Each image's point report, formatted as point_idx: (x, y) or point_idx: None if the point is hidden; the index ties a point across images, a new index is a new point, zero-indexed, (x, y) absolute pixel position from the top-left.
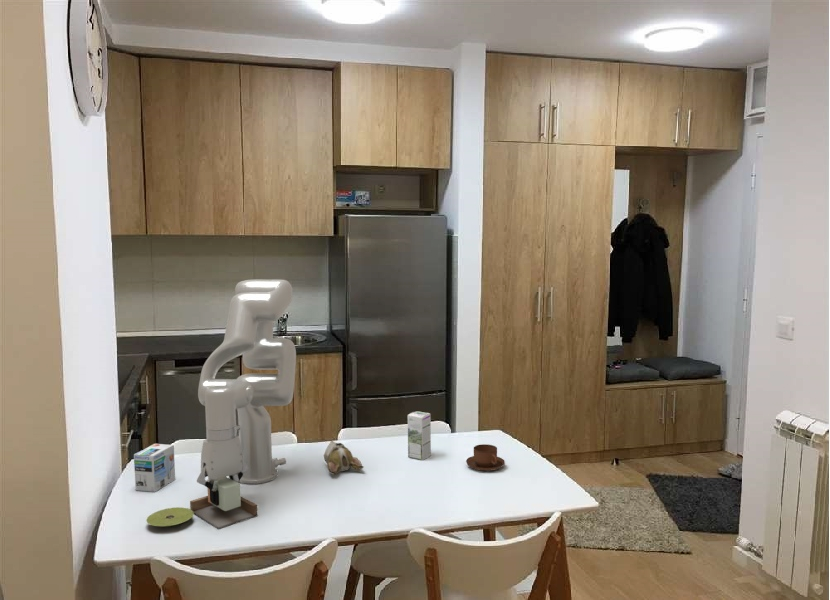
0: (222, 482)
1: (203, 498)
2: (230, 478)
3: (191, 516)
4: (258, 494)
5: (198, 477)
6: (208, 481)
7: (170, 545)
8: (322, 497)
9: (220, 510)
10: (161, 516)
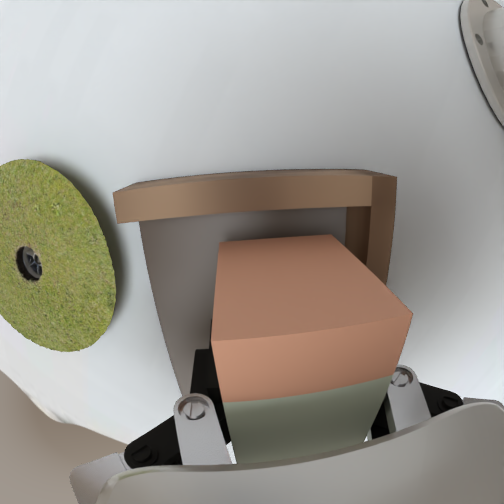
0: (290, 448)
1: (200, 209)
2: (385, 406)
3: (101, 327)
4: (463, 215)
5: (79, 501)
6: (180, 447)
7: (52, 386)
8: (488, 350)
9: None
10: (3, 236)
